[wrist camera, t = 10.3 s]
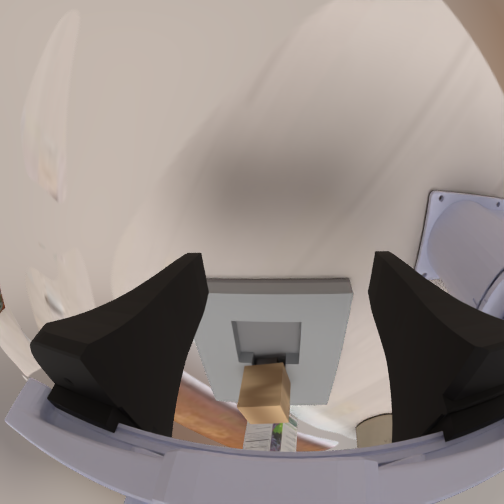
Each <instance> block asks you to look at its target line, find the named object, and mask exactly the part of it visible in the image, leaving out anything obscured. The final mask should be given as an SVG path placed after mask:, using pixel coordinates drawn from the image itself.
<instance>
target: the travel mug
mask: <svg viewBox="0 0 504 504" xmlns="http://www.w3.org/2000/svg"><path fill="white" fill-rule="evenodd" d="M356 435H357V447H358V448H363V447H371V446H377V445H384V444H389V443H392V415H390V414H388V415H381V416H377V417H373V418H371V419H368V420H366V421H364V422H363V423H361V424H360V425H359V426H358V427H357V428H356Z"/></svg>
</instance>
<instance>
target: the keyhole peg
mask: <svg viewBox="0 0 504 504" xmlns="http://www.w3.org/2000/svg"><path fill="white" fill-rule="evenodd" d="M290 389H291V382H290V380H289V377H288V374H287V372H286V369H285V366H284V364H283V362H282V363H279V361H278V358H277V357H275V358H265V359H257V363H256V365H250V366H244V372H243V377H242V383H241V388H240V394H239V399H238V405H237V408H238V409H239V410H240V412H241V413H242V414H243V416H244V417H245V418H246V420H247V421H248V422H249V423H250V424H273V423H289V410H290Z"/></svg>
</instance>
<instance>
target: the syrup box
mask: <svg viewBox="0 0 504 504" xmlns="http://www.w3.org/2000/svg"><path fill="white" fill-rule="evenodd" d="M297 424H298V420H297V419H295V418H294V417H293V416H291V415H290V414H289V423H273V424H250V423H249V422H248V421H247V427H246V433H245V438H244V444H243V449H246V450H259V451H280V452H296V443H297Z"/></svg>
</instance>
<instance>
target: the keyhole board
mask: <svg viewBox="0 0 504 504" xmlns="http://www.w3.org/2000/svg"><path fill="white" fill-rule="evenodd" d="M206 280H207V285H208V290H209V294H208V299H207V303H206V307H205V311H204V314H203V317H202V319H201V322H200V324H199V327H198V329H197V332H196V334H195V337H194V340H195V343H196V346H197V349H198V352H199V355H200V358H201V361H202V364H203V366H204V369H205V372H206V375H207V378H208V380H209V383H210V386H211V388H212V391H213V394H214V396H215V399H216V401H225V402H236V403H238V399H239V394H240V388H241V383H242V377H243V372H244V366H250V365H256V363H257V359H265V358H275V357H277V358H278V361H279V363H282V362H283V364H284V366H285V369H286V372H287V374H288V377H289V380H290V382H291V389H290V405H327V403H328V400H329V396H330V393H331V389H332V386H333V382H334V378H335V375H336V371H337V367H338V363H339V359H340V355H341V351H342V346H343V342H344V338H345V333H346V328H347V324H348V319H349V313H350V308H351V303H352V297H353V291H352V287H351V284H350V280H349V279H206Z"/></svg>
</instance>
